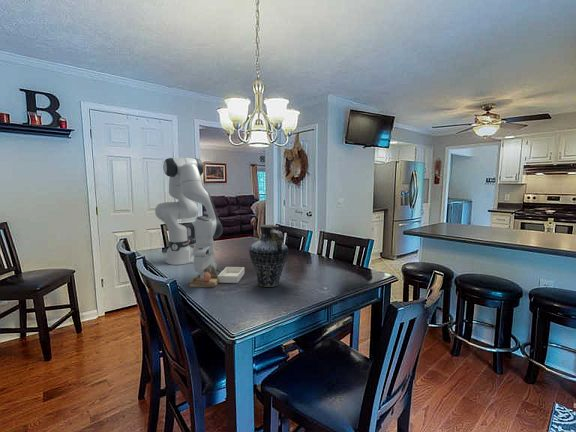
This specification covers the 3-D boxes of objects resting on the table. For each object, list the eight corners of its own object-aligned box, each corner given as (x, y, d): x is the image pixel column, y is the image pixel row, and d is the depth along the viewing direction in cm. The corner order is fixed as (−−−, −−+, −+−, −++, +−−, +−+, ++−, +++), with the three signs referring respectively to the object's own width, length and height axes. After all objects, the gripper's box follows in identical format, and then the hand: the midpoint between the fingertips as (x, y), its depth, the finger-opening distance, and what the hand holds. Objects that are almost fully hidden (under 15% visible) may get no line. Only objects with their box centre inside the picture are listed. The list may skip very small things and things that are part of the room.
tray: (198, 278, 160) (198, 274, 159) (222, 279, 159) (222, 275, 158) (188, 286, 147) (188, 282, 146) (214, 287, 146) (214, 283, 146)
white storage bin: (226, 272, 169) (226, 267, 169) (244, 273, 169) (244, 267, 168) (217, 282, 153) (217, 275, 153) (237, 283, 152) (237, 276, 152)
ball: (203, 279, 155) (202, 270, 155) (212, 280, 155) (212, 270, 154) (199, 283, 150) (199, 273, 150) (209, 283, 150) (208, 273, 149)
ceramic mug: (201, 277, 161) (201, 263, 160) (203, 273, 169) (203, 259, 168) (221, 277, 163) (221, 263, 162) (222, 272, 171) (222, 259, 170)
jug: (242, 284, 151) (240, 225, 148) (270, 275, 164) (270, 221, 161) (268, 294, 136) (268, 229, 133) (298, 284, 150) (298, 225, 146)
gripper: (205, 244, 161) (206, 269, 163) (190, 253, 141) (192, 281, 143) (217, 244, 161) (218, 269, 162) (203, 253, 141) (204, 281, 142)
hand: (205, 275), depth 152 cm, fingers open, 8 cm apart
